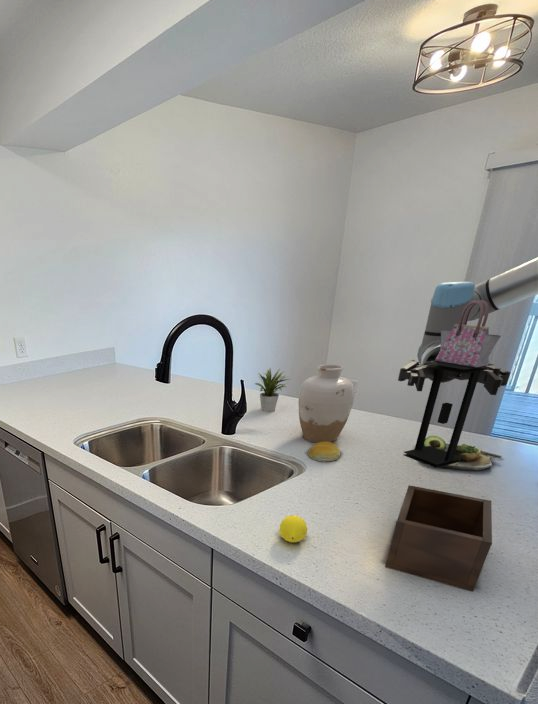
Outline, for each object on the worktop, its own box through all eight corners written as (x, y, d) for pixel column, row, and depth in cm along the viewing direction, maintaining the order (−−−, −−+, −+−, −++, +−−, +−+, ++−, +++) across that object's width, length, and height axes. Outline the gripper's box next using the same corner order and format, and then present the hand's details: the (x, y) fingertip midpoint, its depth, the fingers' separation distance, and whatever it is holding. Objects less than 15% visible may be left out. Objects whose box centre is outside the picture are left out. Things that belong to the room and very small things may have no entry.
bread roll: (305, 459, 126) (306, 446, 125) (313, 449, 133) (315, 437, 131) (335, 464, 122) (337, 451, 120) (342, 454, 128) (344, 441, 127)
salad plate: (493, 451, 124) (498, 436, 122) (508, 477, 110) (514, 460, 108) (414, 444, 132) (418, 429, 130) (418, 466, 118) (422, 451, 116)
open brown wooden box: (475, 545, 85) (491, 500, 81) (473, 591, 74) (492, 543, 69) (397, 526, 93) (408, 485, 88) (384, 566, 81) (396, 521, 76)
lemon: (279, 529, 94) (282, 507, 92) (306, 533, 92) (309, 511, 90) (276, 547, 89) (279, 524, 86) (304, 551, 87) (308, 528, 84)
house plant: (275, 418, 161) (280, 374, 153) (242, 412, 169) (245, 370, 162) (292, 409, 170) (297, 366, 162) (260, 404, 178) (263, 363, 171)
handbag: (396, 452, 93) (434, 300, 79) (422, 446, 95) (463, 297, 81) (443, 471, 84) (494, 303, 70) (470, 463, 86) (525, 300, 73)
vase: (284, 439, 142) (292, 368, 131) (308, 426, 151) (318, 359, 141) (332, 450, 131) (344, 374, 121) (355, 436, 140) (368, 364, 130)
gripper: (501, 381, 93) (530, 410, 76) (380, 376, 103) (381, 401, 86) (513, 345, 90) (546, 367, 73) (387, 344, 100) (389, 362, 82)
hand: (457, 385), depth 79 cm, fingers closed on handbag, 11 cm apart
